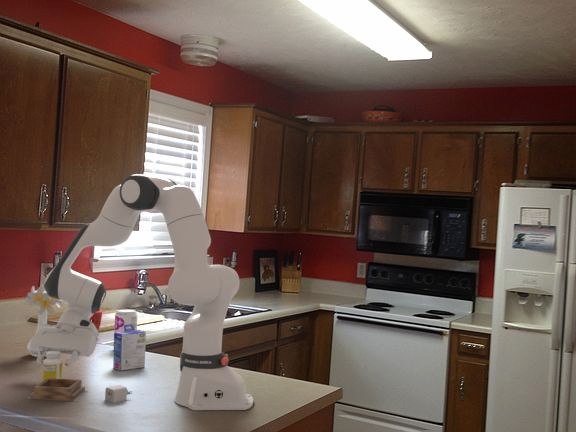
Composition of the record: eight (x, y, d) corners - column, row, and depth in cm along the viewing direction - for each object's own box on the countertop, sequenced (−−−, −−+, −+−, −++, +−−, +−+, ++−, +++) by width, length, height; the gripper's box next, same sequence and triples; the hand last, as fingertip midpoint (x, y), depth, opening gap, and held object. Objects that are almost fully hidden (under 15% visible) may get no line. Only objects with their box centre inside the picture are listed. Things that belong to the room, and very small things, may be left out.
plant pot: (95, 342, 272) (96, 312, 272) (62, 341, 272) (63, 310, 272) (104, 336, 285) (106, 308, 285) (73, 335, 285) (74, 306, 285)
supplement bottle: (54, 381, 211) (56, 349, 211) (64, 384, 208) (66, 352, 208) (38, 384, 207) (40, 351, 207) (48, 387, 203) (50, 354, 203)
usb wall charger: (104, 401, 192) (105, 387, 192) (125, 397, 198) (126, 383, 198) (113, 404, 190) (114, 390, 190) (133, 400, 195) (134, 386, 195)
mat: (88, 392, 201) (88, 390, 201) (76, 402, 190) (76, 401, 190) (40, 389, 201) (40, 388, 201) (25, 399, 190) (26, 398, 190)
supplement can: (119, 353, 255) (121, 312, 255) (109, 349, 261) (111, 309, 261) (139, 351, 260) (141, 311, 260) (129, 347, 267) (130, 308, 266)
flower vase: (30, 362, 233) (33, 289, 233) (16, 352, 248) (20, 283, 248) (68, 359, 240) (72, 288, 240) (53, 349, 255) (56, 282, 255)
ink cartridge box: (136, 364, 239) (138, 322, 239) (145, 367, 235) (147, 325, 235) (111, 368, 231) (113, 325, 231) (120, 371, 228) (122, 327, 228)
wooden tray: (84, 391, 200) (85, 380, 200) (73, 400, 190) (74, 388, 190) (43, 388, 200) (44, 377, 200) (30, 398, 190) (30, 386, 190)
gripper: (38, 317, 217) (18, 354, 207) (97, 323, 213) (80, 361, 203) (45, 329, 221) (26, 366, 212) (103, 335, 217) (86, 373, 207)
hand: (53, 364), depth 207 cm, fingers open, 8 cm apart
